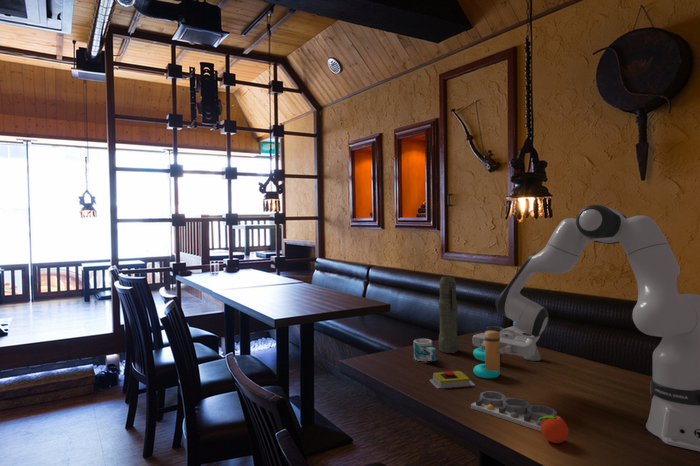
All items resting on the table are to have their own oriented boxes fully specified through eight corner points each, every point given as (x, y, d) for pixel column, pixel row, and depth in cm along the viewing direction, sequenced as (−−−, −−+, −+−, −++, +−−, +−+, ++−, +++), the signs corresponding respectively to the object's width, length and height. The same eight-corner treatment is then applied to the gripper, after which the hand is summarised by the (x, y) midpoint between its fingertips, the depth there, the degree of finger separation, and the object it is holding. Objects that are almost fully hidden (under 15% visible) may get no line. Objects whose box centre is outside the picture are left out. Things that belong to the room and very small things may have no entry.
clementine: (537, 445, 118) (536, 419, 118) (535, 433, 124) (535, 408, 124) (570, 450, 115) (569, 423, 115) (567, 437, 122) (566, 412, 121)
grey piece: (560, 420, 132) (560, 410, 132) (545, 433, 124) (545, 422, 124) (487, 398, 149) (487, 389, 149) (470, 408, 142) (470, 398, 142)
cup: (505, 361, 188) (504, 327, 187) (501, 366, 182) (500, 330, 182) (489, 359, 191) (488, 325, 191) (484, 363, 186) (484, 328, 185)
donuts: (503, 353, 167) (476, 353, 167) (503, 379, 167) (477, 379, 167) (495, 346, 177) (470, 346, 177) (495, 370, 177) (470, 370, 177)
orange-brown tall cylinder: (502, 368, 143) (502, 332, 143) (495, 371, 140) (495, 334, 140) (489, 365, 147) (489, 329, 147) (482, 368, 144) (481, 332, 143)
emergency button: (428, 369, 168) (465, 367, 170) (428, 381, 168) (465, 378, 170) (437, 378, 159) (475, 375, 161) (437, 390, 159) (476, 386, 161)
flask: (542, 361, 187) (542, 338, 187) (525, 361, 188) (524, 338, 188) (539, 356, 194) (538, 334, 194) (521, 356, 195) (521, 333, 195)
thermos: (449, 355, 198) (448, 278, 197) (433, 349, 208) (432, 276, 208) (464, 352, 201) (463, 277, 201) (448, 346, 212) (447, 274, 211)
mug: (425, 355, 198) (425, 337, 198) (441, 363, 187) (441, 344, 187) (410, 358, 195) (410, 339, 195) (426, 366, 184) (425, 346, 184)
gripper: (483, 326, 160) (463, 334, 150) (539, 336, 145) (520, 345, 135) (483, 344, 160) (463, 352, 150) (539, 355, 145) (520, 365, 135)
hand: (490, 349), depth 143 cm, fingers closed on orange-brown tall cylinder, 5 cm apart
